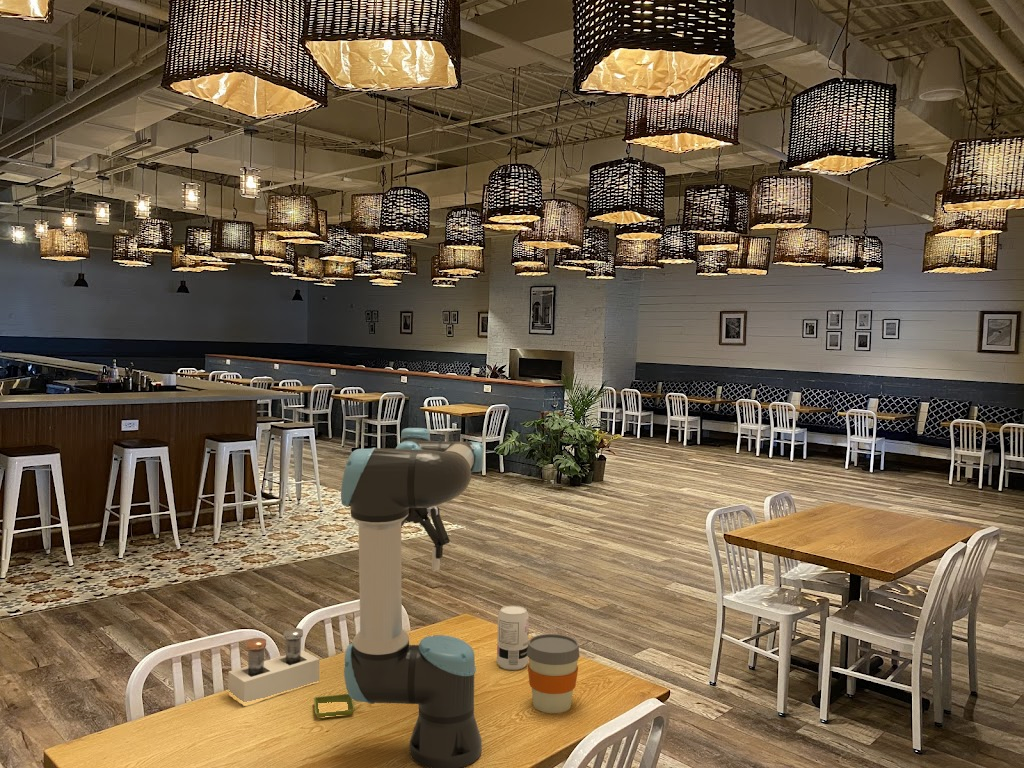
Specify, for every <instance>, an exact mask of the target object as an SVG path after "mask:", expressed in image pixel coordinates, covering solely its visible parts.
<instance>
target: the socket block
mask: <svg viewBox="0 0 1024 768" xmlns="http://www.w3.org/2000/svg"><path fill="white" fill-rule="evenodd" d="M227 678H228V683H227V684H228V686H227V687H228V690H230V691H229V692H231V693H233V695H235V696H236V697H237V698H239V699H240V700H242V701H243V702H247V701H252V700H256V699H260V698H265V697H268V696H271V695H274V694H277V693H281V692H284V691H287V690H291V689H294V688H298V687H301V686H304V685H307V684H310V683H313V682H317V681H319V682H320V659H319V658H318V657H316V656H314V655H313V654H311V653H309V652H307V651H305V650H303V649H301V662H299V663H296V664H293V665H288V664H286V654H285V655H281V656H277V657H274V658H271V659H267V660H264V673H263V674H259V675H256V676H253V677H251V676H249V675H248V665H246V666H243V667H240V668H236V669H233V670H230V671H228V677H227Z"/></svg>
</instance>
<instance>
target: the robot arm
mask: <svg viewBox="0 0 1024 768" xmlns="http://www.w3.org/2000/svg"><path fill="white" fill-rule="evenodd" d="M430 434H431V433H430V430H429V429H428V428H423V427H407V428H403V429H402V430H401V434H400V435H401V436H400V439H399V440H400V443H398V445H397V446H396V447H395V448H381V447H380V448H378V447H371V448H357V449H355V450H353V451H352V452H351V453H350V454H349V456H348V458H347V461H346V464H345V468H344V471H343V475H342V476H343V477H342V480H341V488H340V489H341V490H340V499H341V504H342V506H344V507H346V508H350V518H351V519H352V521H353V520H354V521H355V522H356V523H357V524H358V575H359V577H358V578H359V580H358V581H359V583H358V584H359V588H358V589H359V632H358V633H356V634H355V636H354V637H353V639H352V643H349V644H348V646H347V648H346V650H345V654H344V668H343V672H344V673H343V675H344V683H345V689H346V691H347V694H349V696H350V697H351V698H352V700H353V701H354V702H357V703H358V702H359V703H367V704H371V705H373V704H398V705H399V704H401V705H403V704H405V705H406V704H407V705H413V704H414V705H418V714H417V715H418V716H417V718H416V722H415V725H414V727H413V730H412V734H411V737H410V738H409V739H410V741H409V755H410V758H411V759H412V761H414V762H415V763H416V764H418V765H420V766H422V767H424V768H464V767H467V766H469V765H471V764H473V763H474V762H475V761H477V760H478V759H479V758H480V757H481V754H482V748H483V745H482V744H483V743H482V741H483V740H482V735H481V733H480V730H479V727H478V723H477V720H476V717H475V674H476V672H477V667H476V665H475V663H476V661H475V660H476V659H475V651H474V649H473V647H472V646H471V645H470V644H469V643H467V642H466V641H464V640H462V639H461V638H457V637H455V636H451V635H450V636H449V635H445V634H444V635H443V634H442V635H441V634H434V635H428V636H425V637H422V639H421V640H420V641H419V643H418V644H410V636H409V634H408V632H406V631H405V630H404V629H403V627H402V626H403V624H402V623H403V622H402V621H403V620H402V619H403V616H402V615H403V614H402V613H403V612H402V611H403V610H402V606H403V604H402V601H403V600H402V593H403V592H402V591H403V590H402V587H403V586H402V585H403V584H402V583H403V582H402V578H403V577H402V528H403V526H404V524H405V523H406V522H407V523H414V524H419V525H420V526H422V528H423V529H424V530H425V532H426V534H427V536H428V537H429V538H430V540H431V542H432V543H433V544H434V545H432V546H431V548H432V549H431V556H432V557H431V572H436V571H439V570H440V568H441V565H440V564H441V563H440V562H441V561H440V560H441V558H443V555H444V553H443V549H444V548H443V547H444V546H446V545H447V544H450V537H449V535H448V532H447V530H446V528H445V525H444V522H443V520H442V518H441V516H440V507H438V506H439V505H441V504H444V503H445V504H446V503H447V502H451V501H452V500H454V499H455V498H457V497H459V496H461V495H462V494H463V493H464V492H465V491H466V490H467V488H468V486H469V484H470V483H471V479H472V473H481V472H482V471H483V468H484V445H483V443H482V442H479V441H478V442H477V441H470V440H469V441H449V440H447V441H443V440H431V437H430ZM428 514H429V516H430V517H429V516H428ZM430 518H431V519H430Z"/></svg>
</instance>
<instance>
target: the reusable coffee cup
mask: <svg viewBox="0 0 1024 768" xmlns="http://www.w3.org/2000/svg"><path fill="white" fill-rule="evenodd" d="M579 645H580V644H579V642H578V640H576V639H575V638H573V637H570V636H568V635H564V634H557V633H545V634H538V635H534V636H533V637H531V638H530V639H528V649H527V656H528V663H527V672H528V681H529V686H530V687H531V694H532V705H533V707H534V708H535V709H536V710H538V711H539V712H541V713H546V714H562V713H564V712H567V711H569V710H570V709H571V705H572V700H573V699H572V698H573V693H574V689H576V688H575V687H576V685H577V679H578V671H579V665H578V661H579V658H580V646H579Z"/></svg>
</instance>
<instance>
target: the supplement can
mask: <svg viewBox="0 0 1024 768" xmlns="http://www.w3.org/2000/svg"><path fill="white" fill-rule="evenodd" d="M529 617H530V615H529V613H528V610H527V608H525V607H523V606H520V605H505V606H503V607H501V608H500V611H499V613H498V615H497V643H496V645H497V648H496V660H497V661H496V663H497V665H498V666H499V667H500V668H501V669H504V670H507V671H518V670H519V671H520V670H522V669H525V667H526V666H528V663H529V657H528V656H527V649H528V641H529V627H530V623H529V621H530V620H529V619H530V618H529Z"/></svg>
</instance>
